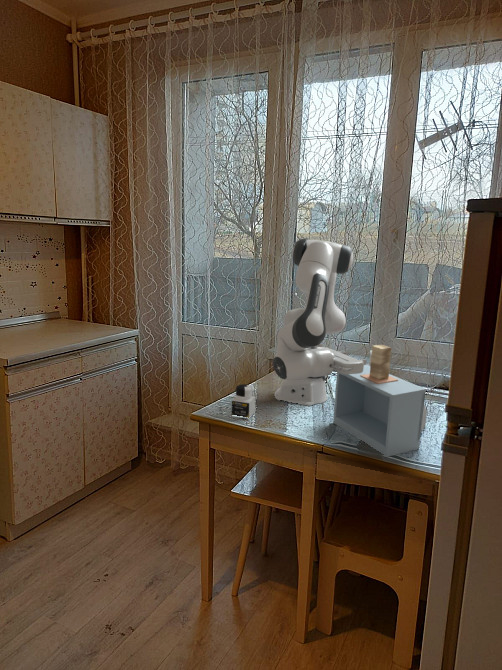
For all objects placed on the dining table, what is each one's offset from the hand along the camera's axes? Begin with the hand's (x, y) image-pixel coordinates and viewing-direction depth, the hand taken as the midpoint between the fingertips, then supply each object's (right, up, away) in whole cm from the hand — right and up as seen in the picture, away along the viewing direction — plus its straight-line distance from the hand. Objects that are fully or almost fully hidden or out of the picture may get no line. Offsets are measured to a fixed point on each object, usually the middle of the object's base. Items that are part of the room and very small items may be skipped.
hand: (356, 357), depth 158 cm
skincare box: (+23, -16, +65) cm, 71 cm away
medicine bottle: (-38, -24, +27) cm, 52 cm away
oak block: (+9, -7, +7) cm, 14 cm away
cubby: (+9, -28, +12) cm, 32 cm away
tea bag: (+27, -27, +19) cm, 43 cm away
